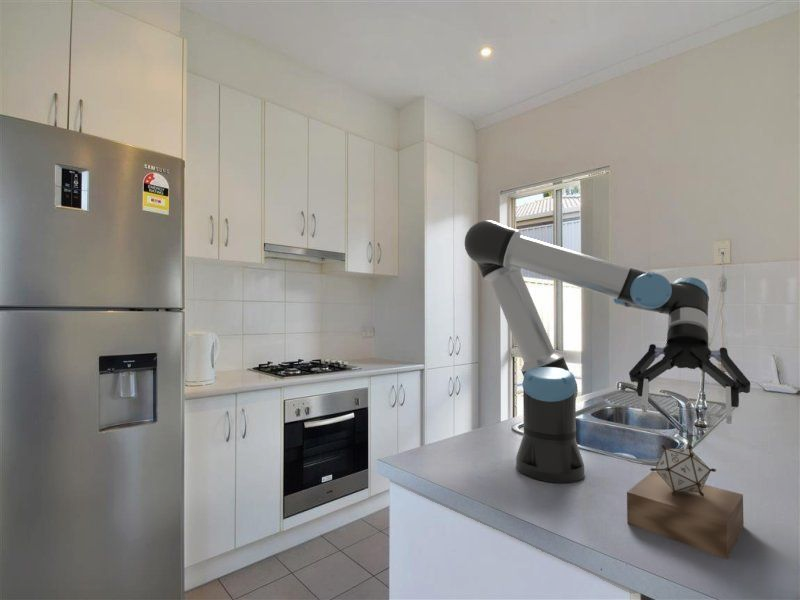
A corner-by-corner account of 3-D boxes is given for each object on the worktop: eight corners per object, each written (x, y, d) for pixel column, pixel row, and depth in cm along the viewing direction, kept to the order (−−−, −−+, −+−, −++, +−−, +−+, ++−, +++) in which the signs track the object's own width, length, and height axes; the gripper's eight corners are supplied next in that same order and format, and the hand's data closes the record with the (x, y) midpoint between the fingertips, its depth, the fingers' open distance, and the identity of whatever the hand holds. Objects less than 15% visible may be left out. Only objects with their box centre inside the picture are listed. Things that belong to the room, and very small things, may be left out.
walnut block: (627, 526, 72) (626, 492, 72) (653, 501, 82) (652, 471, 82) (727, 562, 62) (726, 522, 62) (743, 529, 71) (742, 494, 72)
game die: (695, 519, 70) (719, 487, 64) (640, 490, 75) (659, 458, 69) (702, 480, 76) (726, 447, 70) (652, 455, 80) (669, 423, 74)
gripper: (760, 347, 86) (769, 436, 74) (626, 341, 102) (615, 414, 89) (762, 322, 82) (771, 412, 70) (622, 320, 97) (610, 394, 85)
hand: (684, 414), depth 80 cm, fingers open, 13 cm apart
